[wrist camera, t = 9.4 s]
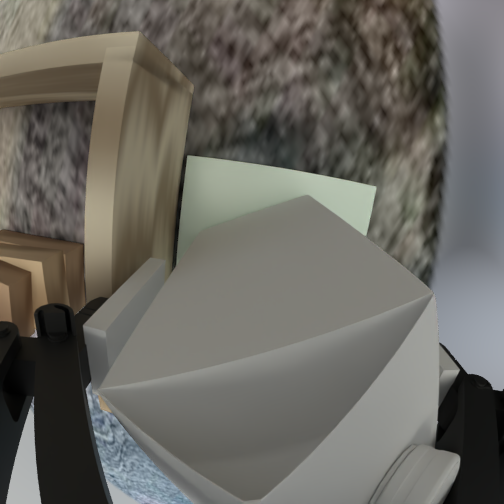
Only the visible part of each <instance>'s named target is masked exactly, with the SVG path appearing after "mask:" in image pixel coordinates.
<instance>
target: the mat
mask: <svg viewBox="0 0 504 504" xmlns="http://www.w3.org/2000/svg"><path fill="white" fill-rule="evenodd" d="M375 192H376V187H375V186H371V185H367V184H362V183H358V182H353V181H348V180H344V179H339V178H334V177H329V176H323V175H318V174H313V173H307V172H302V171H296V170H291V169H285V168H279V167H272V166H266V165H260V164H253V163H246V162H239V161H232V160H224V159H216V158H208V157H199V156H190V155H188V156H187V164H186V172H185V180H184V188H183V197H182V206H181V216H180V226H179V236H178V248H177V260H176V266H177V264H178V263H179V261H180V260H181V258H182V257H183V255H184V254H185V252H186V251H187V249H188V248H189V246H190V245H191V244H192V242H193V241H194V239H195V238H196V236H197V235H198V233H199V232H200V231H202V230H205V229H207V228H210V227H213V226H216V225H219V224H221V223H224V222H227V221H230V220H233V219H236V218H239V217H241V216H244V215H247V214H250V213H253V212H256V211H259V210H262V209H265V208H268V207H271V206H274V205H277V204H280V203H283V202H286V201H289V200H292V199H295V198H298V197H301V196H304V195H309V196H311V197H312V198H314V199H315V200H317V201H318V202H319V203H321V204H322V205H324V206H325V207H326V208H328V209H329V210H330V211H332V212H333V213H335V214H336V215H337V216H339V217H340V218H341V219H343V220H344V221H346V222H347V223H348V224H350V225H351V226H352V227H354V228H355V229H356V230H358V231H359V232H360V233H362V234H363V235H364V236H366V235H367V231H368V226H369V221H370V217H371V212H372V207H373V202H374V197H375Z"/></svg>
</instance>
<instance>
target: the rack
mask: <svg viewBox="0 0 504 504" xmlns="http://www.w3.org/2000/svg"><path fill="white" fill-rule="evenodd" d="M193 90H194V85H193V84H192V83H191V82H190V81H189V80H188V79H187V78H186V77H185V76H184V75H183V74H182V73H181V72H180V71H179V70H178V69H177V68H176V67H175V66H174V64H173V63H172V62H171V61H170V60H169V59H168V58H167V57H166V56H165V55H164V54H162V53H161V52H160V51H159V50H158V49H157V48H156V47H155V46H154V45H153V44H152V43H151V42H150V41H149V40H148V39H147V38H146V37H145V36H144V35H143V34H142V33H141V32H140V31H135V32H120V33H109V34H99V35H91V36H83V37H77V38H70V39H64V40H58V41H53V42H48V43H43V44H38V45H34V46H29V47H25V48H21V49H17V50H13V51H10V52H6V53H2V54H0V108H6V107H14V106H23V105H32V104H43V103H56V102H73V101H96V103H95V110H94V116H93V123H92V131H91V139H90V148H89V157H88V169H87V182H86V199H85V283H86V300H87V303H88V302H90V301H91V300H93V299H96V298H98V297H105V298H110V297H111V296H112V295H113V294H114V293H115V292H116V291H117V290H118V289H119V288H120V287H121V286H122V285H123V284H124V283H125V282H126V281H127V280H128V279H129V278H130V277H131V276H132V275H133V274H134V273H135V272H136V271H137V270H138V269H139V268H140V267H141V266H142V265H143V264H144V263H145V262H146V261H147V260H148V259H149V258H156V259H162V260H166V262H165V279H164V284H165V282H166V281H167V279H168V278H169V276H170V275H171V273H172V263H173V250H174V238H175V227H176V216H177V206H178V197H179V188H180V180H181V171H182V163H183V156H184V148H185V141H186V134H187V127H188V121H189V114H190V108H191V102H192V96H193ZM98 397H99V402H100V407H101V410H105V411H108V412H111V413H112V411H111V410H110V409H109V407H108V406H107V405H106V403H105V402H104V400H103V399H102V398H101V396H100V395H98Z"/></svg>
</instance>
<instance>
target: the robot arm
mask: <svg viewBox="0 0 504 504" xmlns="http://www.w3.org/2000/svg"><path fill="white" fill-rule="evenodd" d="M165 262H166V260H162V259H156V258H149V259H148V260H147V261H146V262H145V263H144V264H143V265H142V266H141V267H140V268H139V269H138V270H137V271H136V272H135V273H134V274H133V275H132V276H131V277H130V278H129V279H128V280H127V281H126V282H125V283H124V284H123V285H122V286H121V287H120V288H119V289H118V290H117V291H116V292H115V293H114V294H113V295H112V296H111V297H110V298H105V297H98V298H96V299H93V300H91V301H90V302H88V303H87V304H86V305H85V306H84V308H82V309H81V310H80V311H79V313H77V314H76V315H75V316H74V311H73V309H72V308H71V307H69V306H68V305H65V304H62V303H51V304H46V305H43V306H40V307H39V308H38V309H36V310H35V312H34V319H35V325H36V330H37V336H38V338H33V337H23V336H20V334H19V329H18V327H17V325H15V324H14V323H12V322H8V321H0V504H6V499H7V494H8V489H9V483H10V479H11V474H12V470H13V466H14V461H15V457H16V453H17V449H18V446H19V442H20V438H21V435H22V431H23V428H24V424H25V421H26V418H27V415H28V412H29V408H30V405H31V402H32V399H33V396H34V429H35V430H34V431H35V449H36V463H37V474H38V482H39V490H40V497H41V503H42V504H113V502H112V499H111V496H110V493H109V489H108V486H107V482H106V479H105V475H104V472H103V468H102V464H101V461H100V457H99V453H98V449H97V444H96V440H95V436H94V431H93V426H92V421H91V416H90V411H89V405H88V400H87V394H86V387H87V386H88V384H89V383H90V382H91V385H92V391H93V394H96V395H99V393H98V391H97V389H99V387H100V386H101V384H102V382H103V381H104V379H105V377H106V376H107V374H108V372H109V371H110V369H111V367H112V366H113V364H114V362H115V361H116V359H117V357H118V356H119V354H120V352H121V351H122V349H123V348H124V346H125V344H126V343H127V341H128V340H129V338H130V336H131V335H132V333H133V332H134V330H135V328H136V327H137V325H138V324H139V322H140V320H141V319H142V317H143V316H144V314H145V313H146V311H147V310H148V308H149V306H150V305H151V303H152V302H153V300H154V299H155V297H156V296H157V294H158V293H159V291H160V290H161V288H162V287H163V285H164V279H165ZM437 420H438V424H437V431H436V441H435V449H437V450H444V451H448V452H452V453H455V454H458V455H459V456H460V466H459V470H458V473H457V476H456V478H455V481H454V483H453V485H452V487H451V489H450V491H449V493H448V495H447V497H446V499H445V501H444V502H443V504H504V389H503V391H497V390H493V389H492V386H491V384H490V383H489V382H488V381H487V380H486V379H485V378H483V377H481V376H479V375H475V374H467V373H466V371H465V370H464V369H463V368H462V366H461V365H460V364H459V363H458V361H457V360H455V358H454V357H453V356H452V355H451V353H450V352H449V351H448V349H447V348H446V347H445V346H444V345H442V344H441V343H439V400H438V418H437Z"/></svg>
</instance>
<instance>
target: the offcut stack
mask: <svg viewBox="0 0 504 504" xmlns="http://www.w3.org/2000/svg"><path fill="white" fill-rule="evenodd" d="M51 303H62V304H65V305H68V306H69V307H71V308H72V309H73V311H74V315H75V314H76V313H77V312H78V311H79V310H81V309H82V308H83V307H84V306H85V305H86V301H85V284H84V254H83V244H80V243H75V242H69V241H63V240H58V239H52V238H47V237H41V236H36V235H30V234H25V233H19V232H14V231H9V230H0V321H8V322H12V323H14V324H15V325H17V327H18V329H19V334H20V336H23V337H30V336H31V335H33V334H34V333H35V329H36V325H35V319H34V312H35V310H36V309H38V308H39V307H40V306H43V305H46V304H51Z"/></svg>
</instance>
